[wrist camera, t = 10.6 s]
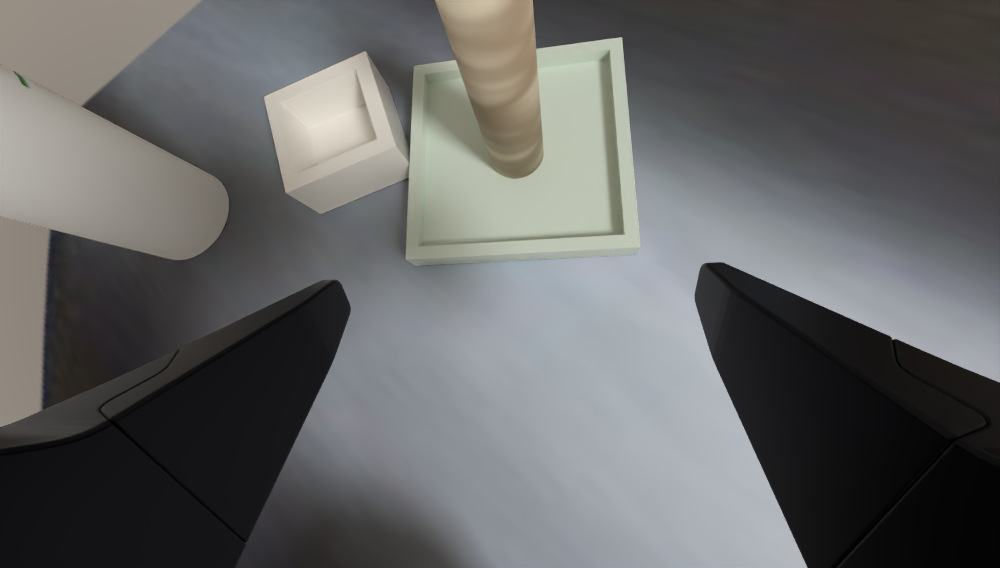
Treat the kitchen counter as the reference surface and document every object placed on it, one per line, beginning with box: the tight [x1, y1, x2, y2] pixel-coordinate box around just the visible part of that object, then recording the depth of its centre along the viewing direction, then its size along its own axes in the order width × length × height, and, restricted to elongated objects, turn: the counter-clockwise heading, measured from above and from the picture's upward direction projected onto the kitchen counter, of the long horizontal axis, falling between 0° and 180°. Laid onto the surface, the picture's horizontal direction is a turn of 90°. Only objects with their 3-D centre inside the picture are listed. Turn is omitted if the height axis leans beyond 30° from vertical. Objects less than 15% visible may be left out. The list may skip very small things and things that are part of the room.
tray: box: [406, 37, 640, 266], centre depth 24 cm, size 14×14×2 cm
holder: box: [264, 51, 410, 214], centre depth 25 cm, size 8×8×4 cm
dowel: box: [435, 0, 544, 179], centre depth 17 cm, size 4×4×14 cm
